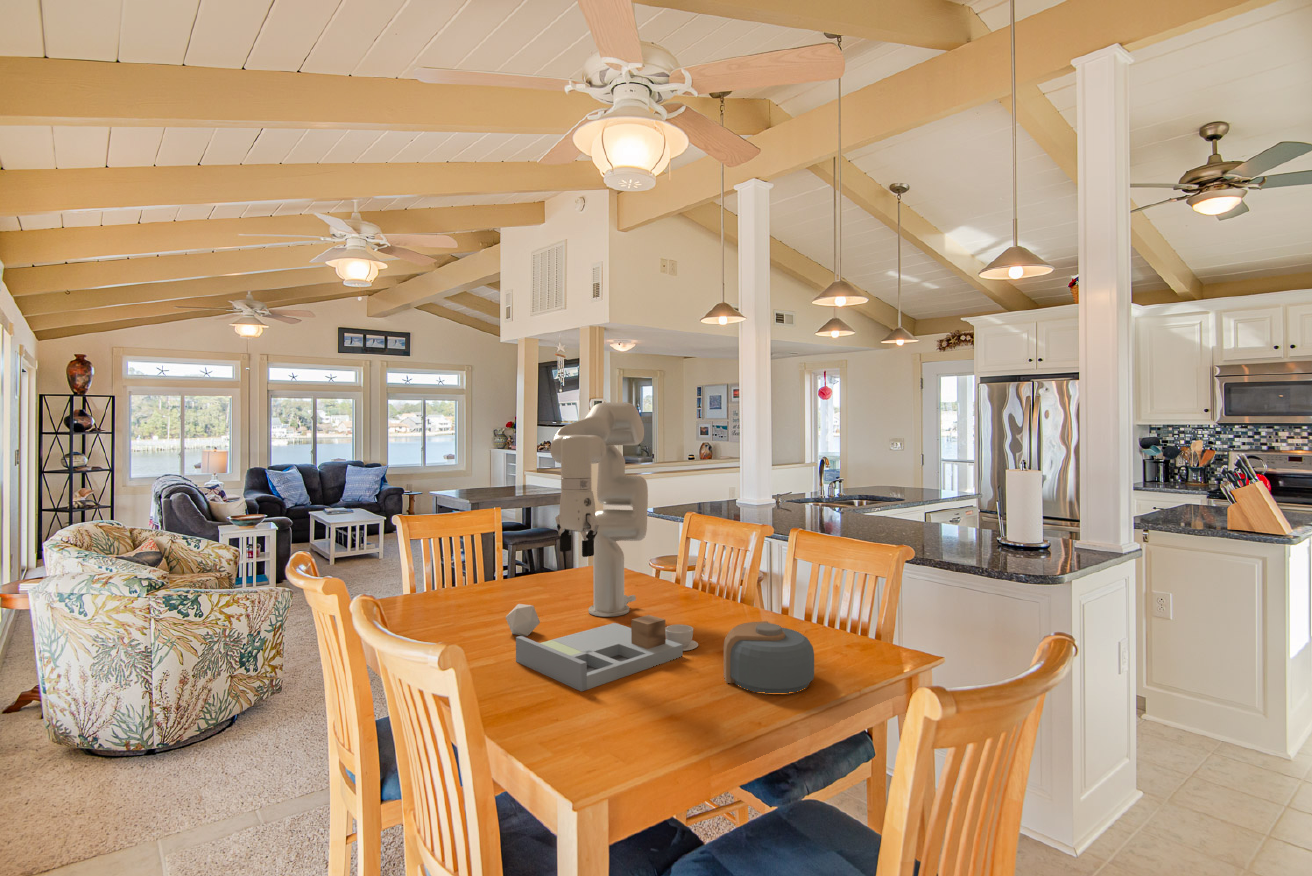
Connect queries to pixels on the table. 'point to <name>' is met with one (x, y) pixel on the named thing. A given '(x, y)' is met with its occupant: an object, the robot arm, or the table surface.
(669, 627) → the teacup
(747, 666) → the grey knobbed dome
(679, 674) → the table surface
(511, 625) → the die
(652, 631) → the walnut block
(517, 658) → the board
